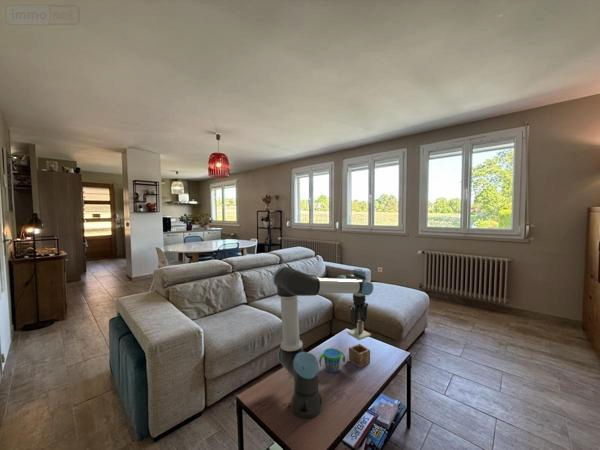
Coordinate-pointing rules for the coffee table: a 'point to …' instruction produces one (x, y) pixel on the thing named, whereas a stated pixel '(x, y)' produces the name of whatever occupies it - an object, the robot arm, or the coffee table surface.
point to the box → (359, 355)
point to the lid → (359, 332)
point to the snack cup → (332, 359)
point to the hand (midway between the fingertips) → (358, 332)
